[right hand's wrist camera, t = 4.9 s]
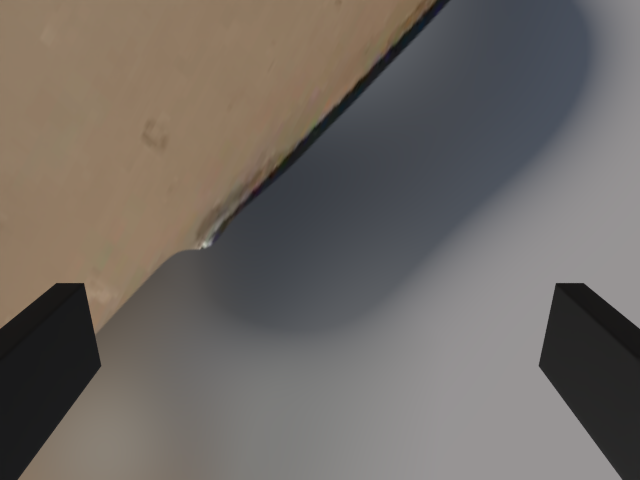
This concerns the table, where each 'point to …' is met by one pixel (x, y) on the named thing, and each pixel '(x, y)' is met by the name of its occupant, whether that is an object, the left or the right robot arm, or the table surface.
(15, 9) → the table surface
